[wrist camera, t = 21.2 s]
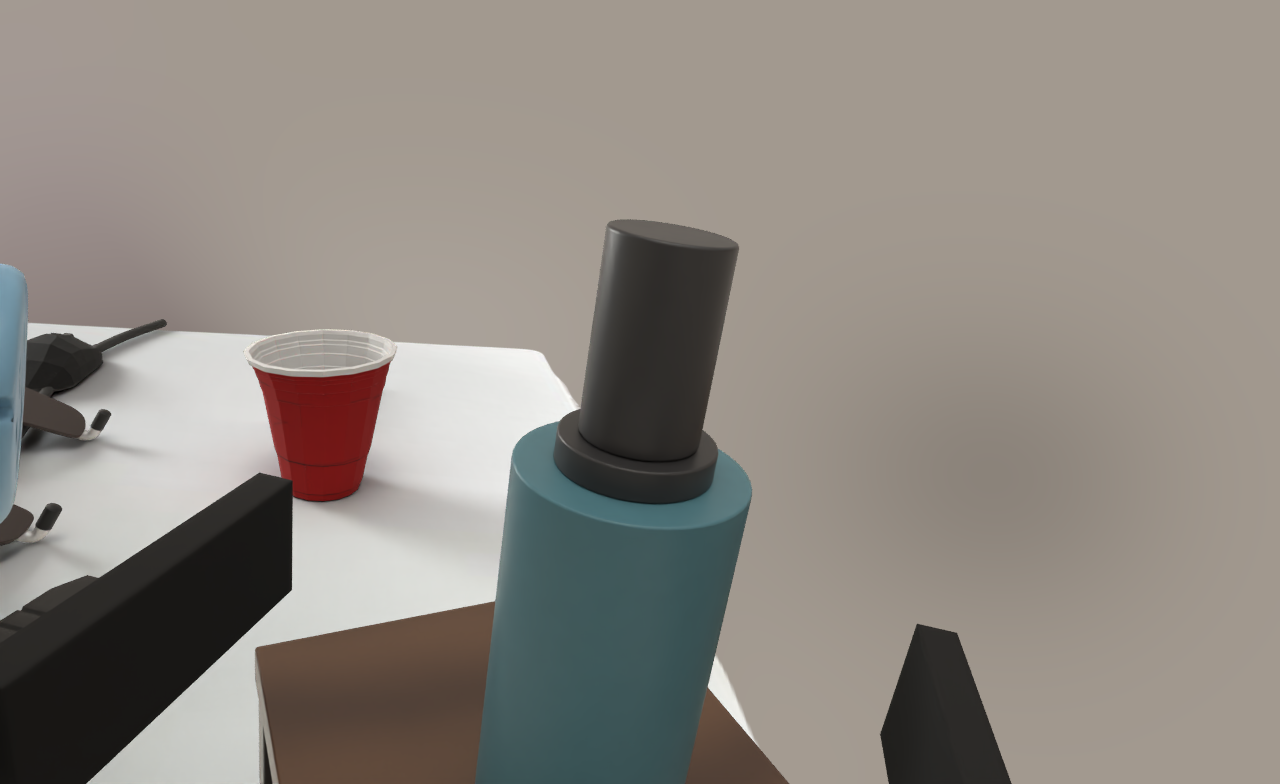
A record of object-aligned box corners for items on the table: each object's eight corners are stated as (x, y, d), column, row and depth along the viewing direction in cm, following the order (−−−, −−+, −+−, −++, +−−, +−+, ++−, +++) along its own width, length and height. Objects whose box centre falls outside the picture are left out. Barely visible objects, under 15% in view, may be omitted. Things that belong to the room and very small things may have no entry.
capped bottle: (430, 806, 23) (484, 202, 17) (581, 719, 27) (666, 209, 21) (558, 969, 19) (684, 269, 13) (710, 839, 24) (858, 261, 18)
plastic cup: (283, 446, 68) (284, 314, 64) (407, 465, 68) (415, 335, 64) (217, 505, 58) (212, 353, 54) (362, 527, 58) (368, 377, 54)
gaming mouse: (130, 350, 83) (128, 314, 81) (55, 402, 69) (51, 359, 68) (63, 344, 81) (60, 307, 80) (-26, 396, 68) (-32, 352, 66)
